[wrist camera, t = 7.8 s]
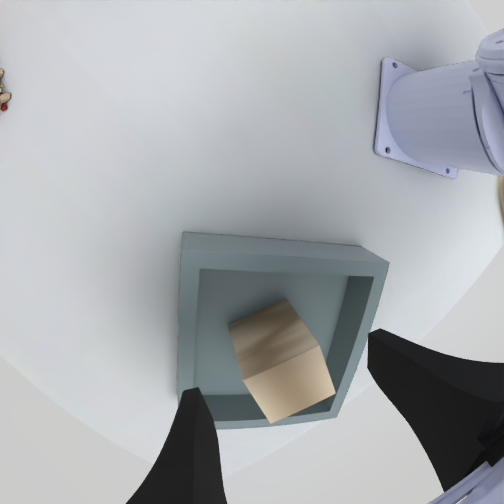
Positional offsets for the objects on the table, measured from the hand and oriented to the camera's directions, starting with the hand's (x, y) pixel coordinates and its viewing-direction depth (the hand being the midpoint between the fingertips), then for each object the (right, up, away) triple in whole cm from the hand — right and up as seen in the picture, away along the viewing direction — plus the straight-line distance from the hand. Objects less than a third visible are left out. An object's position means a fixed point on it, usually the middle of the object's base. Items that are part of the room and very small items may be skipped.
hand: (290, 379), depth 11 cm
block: (0, -1, +10) cm, 10 cm away
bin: (0, -1, +11) cm, 11 cm away
